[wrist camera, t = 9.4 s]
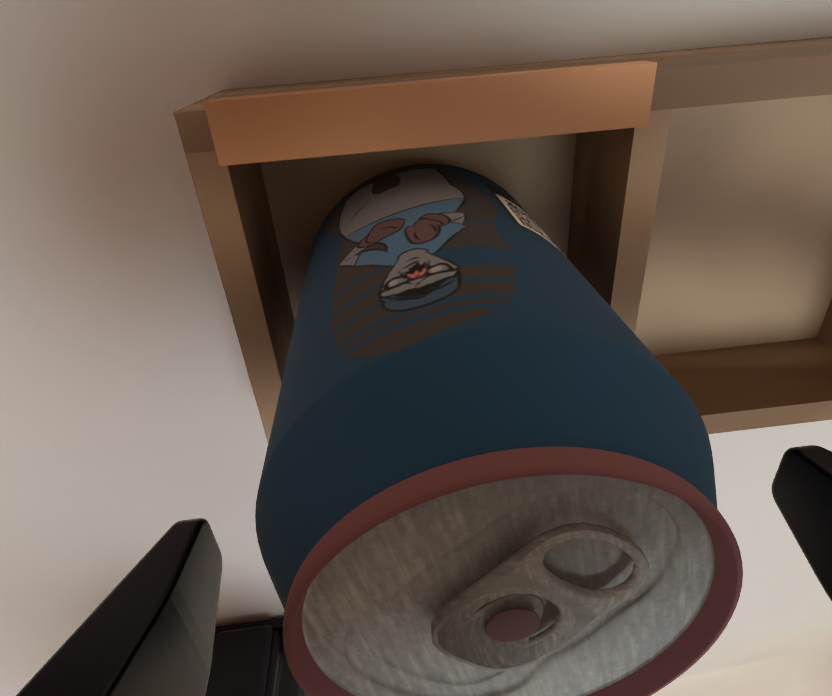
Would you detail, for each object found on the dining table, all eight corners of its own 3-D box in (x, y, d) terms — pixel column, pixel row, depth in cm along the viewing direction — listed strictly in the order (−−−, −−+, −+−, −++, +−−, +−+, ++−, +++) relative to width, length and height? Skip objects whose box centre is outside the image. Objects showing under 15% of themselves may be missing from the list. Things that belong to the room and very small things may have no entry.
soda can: (431, 392, 19) (510, 798, 9) (266, 284, 17) (117, 693, 6) (573, 250, 17) (895, 588, 7) (408, 98, 14) (529, 277, 4)
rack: (1041, 318, 22) (1214, 392, 17) (296, 401, 20) (278, 503, 16) (1242, -7, 16) (1578, -19, 11) (220, 82, 15) (161, 106, 10)
